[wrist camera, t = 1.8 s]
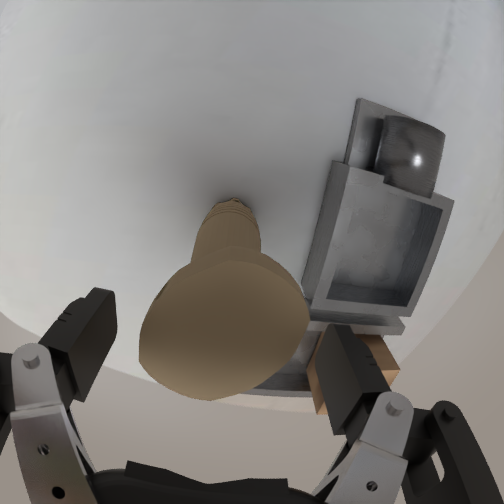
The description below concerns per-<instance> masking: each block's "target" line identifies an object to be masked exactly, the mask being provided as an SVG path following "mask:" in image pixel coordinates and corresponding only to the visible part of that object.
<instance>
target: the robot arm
mask: <svg viewBox="0 0 504 504" xmlns="http://www.w3.org/2000/svg"><path fill="white" fill-rule="evenodd" d="M116 334H117V315H116V303H115V294H114V292H113V291H111V290H106V289H101V288H97V287H94V288H93V289H92V290H91V291H90V293H89V294H88V295H87V296H86V297H85V298H82V297H80V298H79V299H77V300H75V301H73V302H72V303H70V304H69V305H68V306H67V308H66V309H65V310H64V311H63V313H62V314H61V315H60V316H59V317H58V320H56V321H55V322H54V323H53V324H52V326H51V327H50V328H49V329H48V331H47V332H46V333H45V335H44V336H43V337H42V338H41V340H40V341H39V342H38V344H37V343H29V344H25V345H23V346H21V347H19V348H18V349H17V350H16V351H15V352H14V353H13V354H9V353H1V352H0V455H1V452H2V450H3V447H4V445H5V442H6V440H7V438H8V435H9V433H10V431H11V429H12V432H13V438H14V443H15V447H16V452H17V457H18V460H19V465H20V468H21V472H22V475H23V479H24V482H25V486H26V489H27V492H28V495H29V498H30V501H31V504H394V502H395V500H396V497H397V494H398V491H399V489H400V486H402V490H403V493H404V497H405V501H406V504H504V503H503V500H502V497H501V495H500V492H499V489H498V487H497V485H496V482H495V480H494V477H493V475H492V473H491V471H490V468H489V466H488V464H487V462H486V459H485V457H484V455H483V453H482V451H481V449H480V447H479V445H478V443H477V441H476V439H475V437H474V435H473V433H472V431H471V429H470V427H469V425H468V423H467V421H466V420H465V418H464V416H463V414H462V412H461V411H460V409H459V408H458V407H457V406H456V405H455V404H453V403H451V402H449V401H439V402H437V403H436V404H435V405H434V406H433V408H432V409H431V410H424V409H418V408H413V406H412V404H411V402H410V401H409V400H408V399H407V398H406V397H405V396H403V395H401V394H399V393H396V392H392V391H391V389H390V387H389V385H388V383H387V381H386V379H385V377H384V375H383V373H382V371H381V369H380V367H379V366H377V362H376V360H375V358H373V354H372V352H371V350H370V348H369V347H368V346H367V345H366V344H365V343H364V342H363V341H362V340H361V339H360V338H356V336H355V334H354V332H353V331H352V329H351V327H350V325H346V324H333V323H330V324H329V325H328V326H327V328H326V331H325V333H324V336H323V338H322V341H321V343H320V346H319V348H318V351H317V353H316V357H315V370H316V373H317V377H318V380H319V384H320V387H321V391H322V394H323V398H324V401H325V405H326V409H327V412H328V416H329V419H330V423H331V427H332V430H333V434H334V435H346V438H347V440H346V441H345V442H344V444H343V446H342V447H341V449H340V451H339V453H338V455H337V456H336V458H335V460H334V461H333V463H332V465H331V467H330V468H329V470H328V471H327V473H326V475H325V476H324V478H323V479H322V481H321V482H320V483H319V485H318V486H317V487H316V488H315V489H314V491H313V492H312V493H311V494H309V493H306V492H304V491H301V490H298V489H294V488H289V487H288V481H287V478H285V479H253V478H250V479H249V478H248V479H243V480H236V481H229V482H222V483H214V484H205V483H202V482H199V481H196V480H193V479H190V478H187V477H185V476H182V475H179V474H177V473H174V472H172V471H169V470H167V469H163V468H158V467H153V466H148V465H144V464H140V463H136V462H132V461H127V465H126V469H110V470H103V471H99V472H96V470H95V468H94V466H93V464H92V462H91V460H90V458H89V456H88V454H87V451H86V449H85V447H84V444H83V442H82V439H81V436H80V434H79V431H78V428H77V425H76V423H75V420H74V417H73V413H72V410H71V408H70V404H71V403H72V401H73V399H75V400H78V401H81V402H84V401H85V399H86V397H87V395H88V393H89V391H90V388H91V386H92V384H93V382H94V380H95V378H96V376H97V374H98V372H99V370H100V368H101V366H102V364H103V362H104V360H105V358H106V356H107V354H108V352H109V350H110V348H111V346H112V344H113V343H114V341H115V338H116ZM436 451H437V452H438V455H439V457H440V460H441V463H442V465H443V468H444V472H445V473H444V478H443V480H442V481H441V482H440V479H439V476H438V473H437V471H436V468H435V465H434V463H433V460H432V458H431V456H432V455H433V454H434V453H435V452H436Z"/></svg>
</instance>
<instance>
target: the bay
mask: <svg viewBox="0 0 504 504" xmlns="http://www.w3.org/2000/svg"><path fill="white" fill-rule="evenodd" d="M304 300H305V302H306V305H307V308H308V311H309V316H310V322H309V325H308V327H307V329H306V331H305V333H304V336H303V338H302V340H301V342H300V344H299V346H298V348H297V350H296V352H295V353H294V354H293V356H292V357H291V359H290V360H289V361H288V362H287V363H286V364H285V365H284V366H283V367H282V368H281V369H280V370H278V371H277V372H276V373H274V374H273V375H272V376H270V377H269V378H268V379H266V380H265V381H264V382H262V383H261V384H259V385H258V386H256V387H254V388H253V389H250V390H248V391H245V392H242V393H239V394H250V395H263V396H281V397H313V396H312V392H311V388H310V384H309V380H308V376H307V372H306V369H307V367H308V365H309V362H310V360H311V358H312V355H313V353H314V350H315V348H316V345H317V343H318V340H319V338H320V335H321V333H322V332H325V331H326V328H327V326H328V325H329V324H330V323H333V324H346V325H350V327H351V329H352V331H353V332H354V334H373V335H381V337H382V339H383V337H384V335H402V333H403V331H404V329H405V326H404V324H403V323H402V321H401V320H400V319H399V317H398V316H389V315H375V314H362V313H351V312H340V311H329V310H319V309H310V306H309V304H308V301H307V299H304Z"/></svg>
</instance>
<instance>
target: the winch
mask: <svg viewBox="0 0 504 504" xmlns="http://www.w3.org/2000/svg"><path fill="white" fill-rule="evenodd" d="M444 142H445V134H444V133H443V132H441V131H440V130H438V129H436V128H435V127H432V126H430V125H428V124H425V123H423V122H420V121H418V120H415V119H413V118H411V117H409V116H406V115H404V114H401V113H399V112H397V111H394V110H392V109H389V108H387V107H384V106H381V105H379V104H376V103H373V102H371V101H368V100H365V99H362V98H361V99H357V101H356V107H355V112H354V118H353V123H352V128H351V133H350V138H349V142H348V147H347V152H346V156H345V161H344V163H341V162H337V161H333V160H332V165H331V169H330V174H329V178H328V182H327V187H326V191H325V195H324V199H323V203H322V207H321V211H320V215H319V219H318V223H317V227H316V231H315V235H314V239H313V242H312V246H311V250H310V254H309V257H308V261H307V264H306V268H305V272H304V275H303V279H302V282H301V285H302V287H303V290H304V293H305V295H306V298H307V301H308V304H309V306H310V309H319V310H329V311H340V312H351V313H362V314H375V315H389V316H404V317H411V315H412V313H413V310H414V308H415V306H416V304H417V302H418V300H419V297H420V295H421V293H422V291H423V288H424V286H425V284H426V281H427V279H428V277H429V274H430V272H431V269H432V267H433V264H434V261H435V259H436V256H437V253H438V251H439V248H440V245H441V242H442V239H443V237H444V234H445V231H446V227H447V224H448V221H449V218H450V215H451V211H452V208H453V204H454V200H452V199H449V198H447V197H445V196H442V195H440V194H438V193H435V192H433V190H434V187H435V183H436V179H437V175H438V170H439V166H440V161H441V157H442V152H443V147H444Z"/></svg>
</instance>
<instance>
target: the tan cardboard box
mask: <svg viewBox="0 0 504 504" xmlns="http://www.w3.org/2000/svg"><path fill="white" fill-rule="evenodd" d="M324 333H325V332H322V333H321V335H320V338H319V340H318V343H317V345H316V348H315V350H314V353H313V355H312V358H311V360H310V362H309V365H308V367H307V369H306V372H307V376H308V380H309V384H310V388H311V392H312V396H313V401H314V405H315V409H316V413H317V415H318V414H328V412H327V409H326V405H325V401H324V398H323V394H322V391H321V387H320V384H319V380H318V377H317V373H316V370H315V357H316V353H317V351H318V348H319V346H320V343H321V341H322V338H323V336H324ZM355 336H356V338H360V339H361V340H362V341H363V342H364V343H365V344H366V345H367V346H368V347H369V348H370V350H371V352H372V354H373V358H375V360H376V362H377V366H379V367H380V369H381V371H382V373H383V375H384V377H385V379H386V381H387V383H388V385H389V387H390V385H391V384H392V382H393V381H394V379H395V378H396V376H397V374H398V373H399V371H400V368H399V366H398V365H397V363H396V361H395V359H394V358H393V356H392V354H391V352H390V351H389V349H388V347H387V345H386V344H385V342H384V340H383V339H382V337H381V335H373V334H355Z"/></svg>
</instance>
